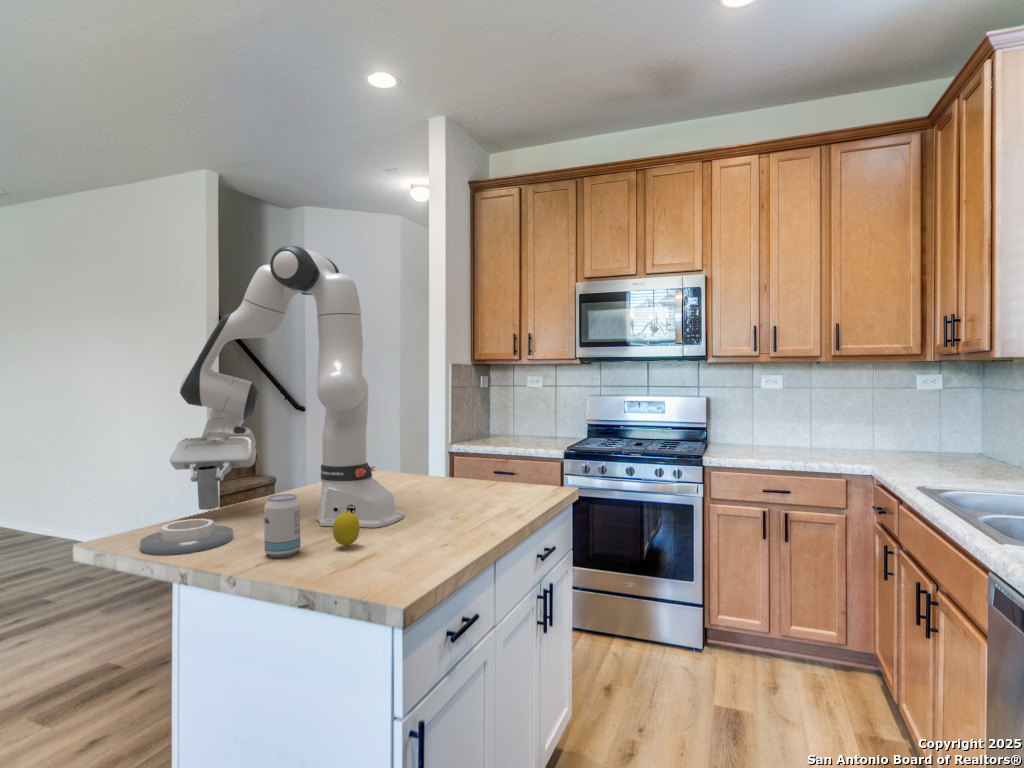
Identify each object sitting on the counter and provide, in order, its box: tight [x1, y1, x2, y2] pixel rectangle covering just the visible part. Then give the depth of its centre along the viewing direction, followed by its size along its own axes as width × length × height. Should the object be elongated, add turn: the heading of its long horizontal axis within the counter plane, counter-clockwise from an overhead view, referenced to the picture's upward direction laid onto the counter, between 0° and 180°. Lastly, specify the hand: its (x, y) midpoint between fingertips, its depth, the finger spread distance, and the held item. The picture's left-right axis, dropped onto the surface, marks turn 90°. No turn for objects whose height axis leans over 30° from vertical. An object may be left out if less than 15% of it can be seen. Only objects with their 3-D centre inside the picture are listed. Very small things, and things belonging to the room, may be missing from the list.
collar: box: [139, 518, 234, 556], centre depth 126 cm, size 18×18×4 cm
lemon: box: [332, 511, 360, 548], centre depth 122 cm, size 6×6×8 cm
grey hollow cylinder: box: [196, 466, 220, 511], centre depth 144 cm, size 4×4×10 cm
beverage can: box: [263, 493, 301, 559], centre depth 117 cm, size 7×7×12 cm
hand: (206, 479), depth 143 cm, fingers closed on grey hollow cylinder, 4 cm apart
